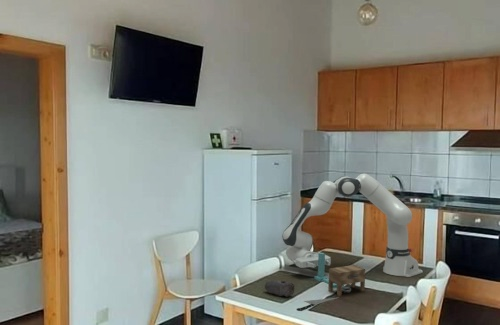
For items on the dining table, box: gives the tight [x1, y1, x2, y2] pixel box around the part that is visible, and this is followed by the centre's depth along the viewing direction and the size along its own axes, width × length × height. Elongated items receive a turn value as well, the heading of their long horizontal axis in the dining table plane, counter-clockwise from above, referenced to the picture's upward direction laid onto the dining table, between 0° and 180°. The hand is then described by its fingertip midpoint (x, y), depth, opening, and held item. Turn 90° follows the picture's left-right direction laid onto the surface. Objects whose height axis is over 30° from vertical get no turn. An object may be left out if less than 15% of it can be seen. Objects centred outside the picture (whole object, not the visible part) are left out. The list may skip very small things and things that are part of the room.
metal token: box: [342, 286, 352, 294], centre depth 224 cm, size 4×4×2 cm
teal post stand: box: [314, 252, 345, 289], centre depth 236 cm, size 16×7×14 cm, turn 29°
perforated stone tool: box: [264, 279, 295, 298], centre depth 217 cm, size 15×5×7 cm, turn 57°
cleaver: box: [296, 296, 340, 312], centre depth 209 cm, size 29×1×10 cm
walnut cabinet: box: [327, 264, 366, 297], centre depth 224 cm, size 16×9×11 cm, turn 119°
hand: (322, 265), depth 241 cm, fingers open, 8 cm apart
